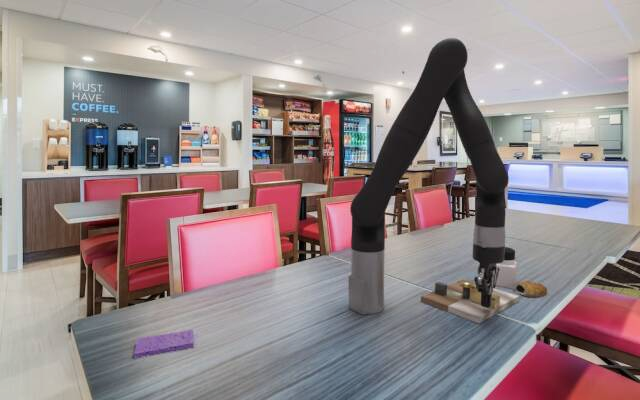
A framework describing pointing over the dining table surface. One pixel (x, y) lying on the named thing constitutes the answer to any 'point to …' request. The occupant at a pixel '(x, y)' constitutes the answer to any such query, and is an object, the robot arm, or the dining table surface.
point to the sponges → (164, 343)
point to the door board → (465, 301)
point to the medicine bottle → (507, 269)
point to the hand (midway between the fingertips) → (485, 306)
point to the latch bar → (476, 295)
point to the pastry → (530, 289)
